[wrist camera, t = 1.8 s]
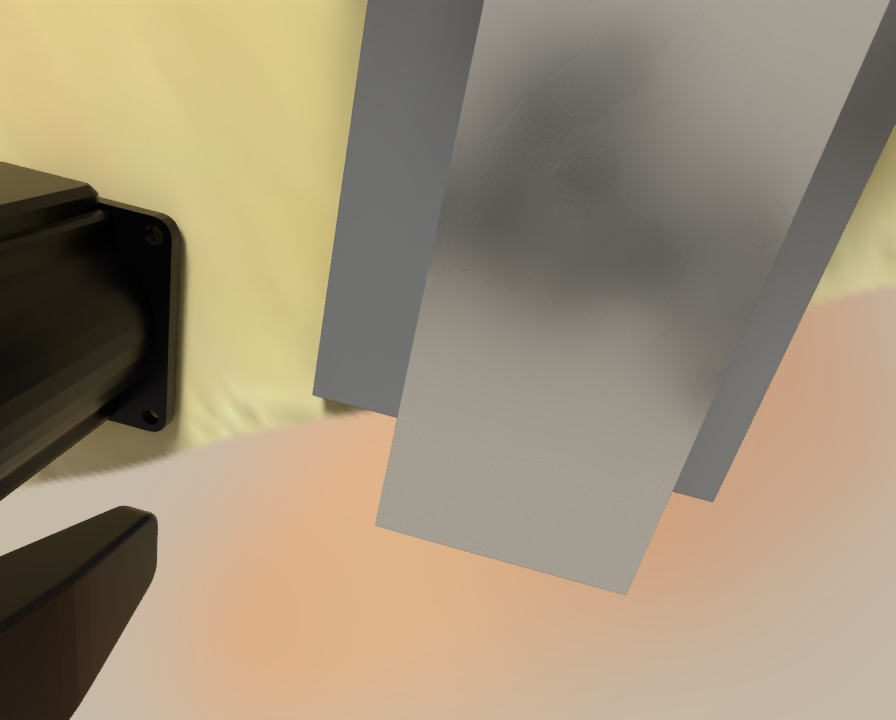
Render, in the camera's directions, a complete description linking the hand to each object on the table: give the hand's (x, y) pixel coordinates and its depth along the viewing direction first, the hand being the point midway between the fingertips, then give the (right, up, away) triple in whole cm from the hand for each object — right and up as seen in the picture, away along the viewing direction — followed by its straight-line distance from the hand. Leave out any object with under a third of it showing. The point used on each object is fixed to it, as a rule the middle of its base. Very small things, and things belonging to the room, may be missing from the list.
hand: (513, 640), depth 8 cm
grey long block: (+3, +8, +6) cm, 10 cm away
